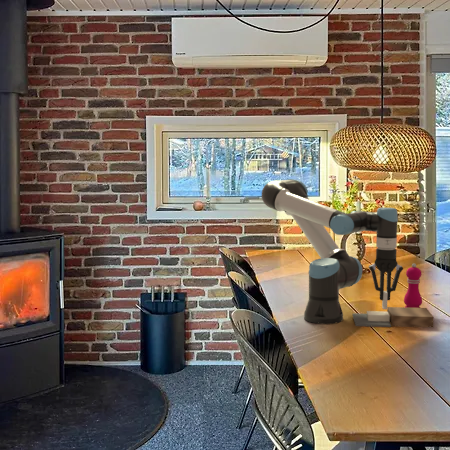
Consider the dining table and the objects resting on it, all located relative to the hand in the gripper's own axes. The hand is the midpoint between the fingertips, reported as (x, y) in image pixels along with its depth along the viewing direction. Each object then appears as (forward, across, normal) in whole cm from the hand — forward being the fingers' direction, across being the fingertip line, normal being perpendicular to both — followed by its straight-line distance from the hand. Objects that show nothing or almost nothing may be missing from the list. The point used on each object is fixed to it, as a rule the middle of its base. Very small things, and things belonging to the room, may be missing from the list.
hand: (384, 308), depth 232 cm
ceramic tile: (+4, -2, 0) cm, 5 cm away
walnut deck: (+5, +10, 0) cm, 11 cm away
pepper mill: (+5, +14, +16) cm, 21 cm away
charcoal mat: (+5, -5, 0) cm, 7 cm away
